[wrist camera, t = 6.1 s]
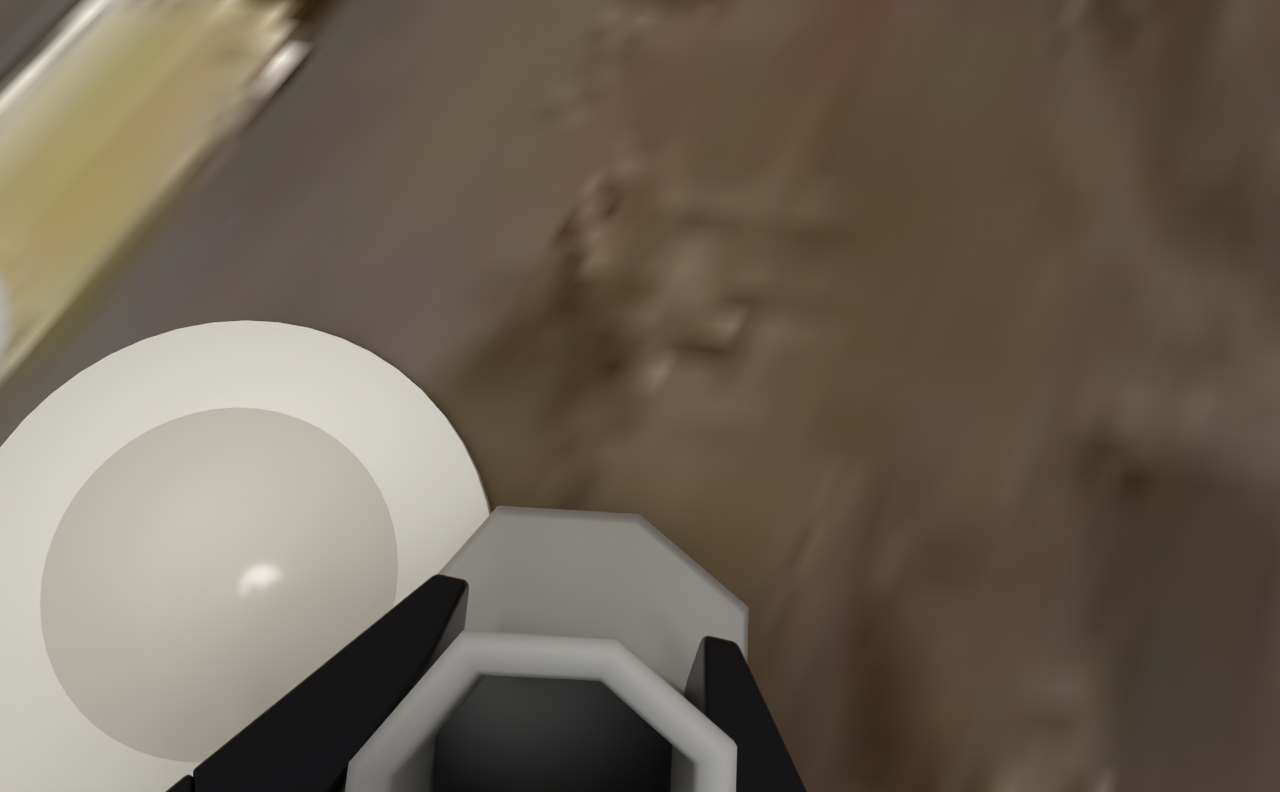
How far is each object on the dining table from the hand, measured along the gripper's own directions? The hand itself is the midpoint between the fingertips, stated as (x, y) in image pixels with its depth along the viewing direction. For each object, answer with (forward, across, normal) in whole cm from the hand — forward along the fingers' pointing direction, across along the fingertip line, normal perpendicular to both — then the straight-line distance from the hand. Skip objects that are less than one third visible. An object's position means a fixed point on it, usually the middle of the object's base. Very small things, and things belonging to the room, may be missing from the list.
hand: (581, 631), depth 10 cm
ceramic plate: (+8, +10, +10) cm, 16 cm away
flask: (+4, 0, +6) cm, 7 cm away
